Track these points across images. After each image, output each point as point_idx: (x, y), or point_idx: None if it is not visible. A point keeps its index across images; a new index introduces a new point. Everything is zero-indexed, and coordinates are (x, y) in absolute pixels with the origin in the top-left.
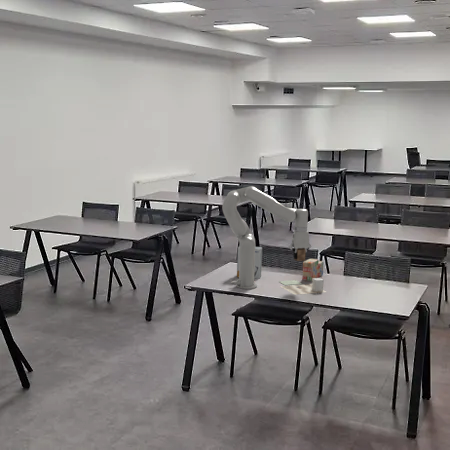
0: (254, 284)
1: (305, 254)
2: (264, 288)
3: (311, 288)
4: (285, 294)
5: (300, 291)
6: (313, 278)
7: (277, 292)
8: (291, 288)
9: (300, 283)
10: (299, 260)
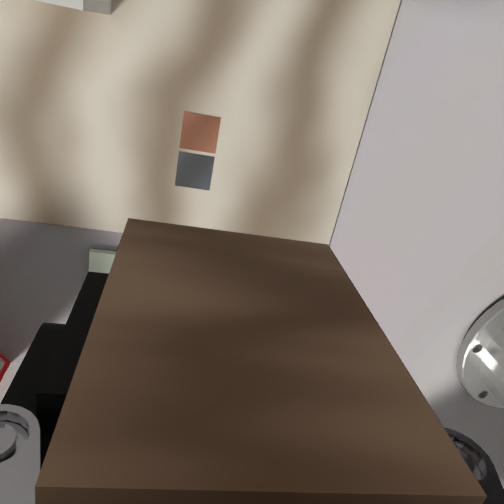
0: (486, 341)
1: (63, 342)
2: (463, 261)
3: (86, 63)
4: (471, 2)
5: (274, 12)
6: (62, 1)
7: (475, 107)
8: (281, 158)
9: (103, 260)
10: (285, 242)
